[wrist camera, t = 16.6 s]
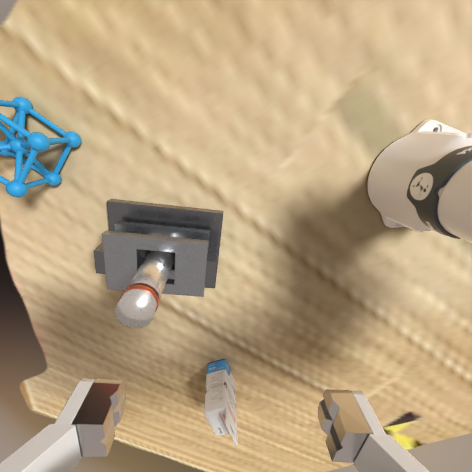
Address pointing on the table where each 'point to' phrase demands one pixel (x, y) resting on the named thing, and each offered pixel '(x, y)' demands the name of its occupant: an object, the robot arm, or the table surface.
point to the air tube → (145, 290)
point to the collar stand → (160, 244)
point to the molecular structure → (33, 141)
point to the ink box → (221, 399)
